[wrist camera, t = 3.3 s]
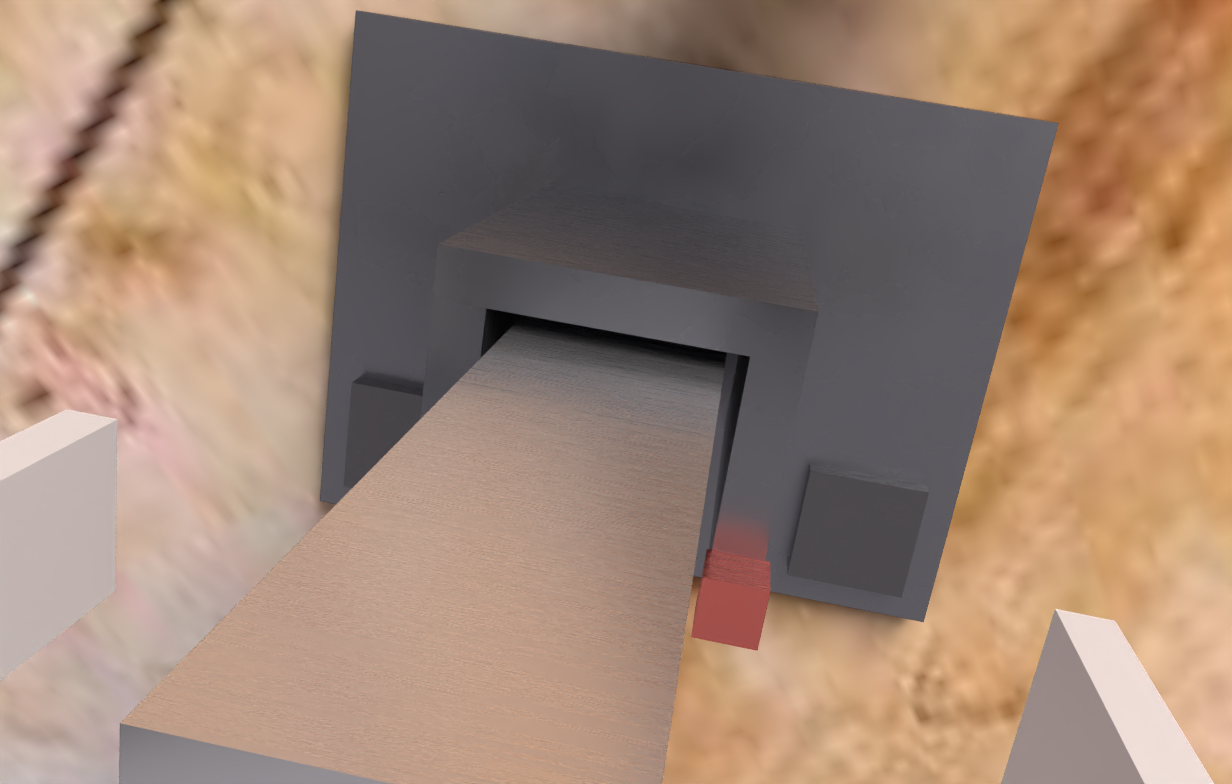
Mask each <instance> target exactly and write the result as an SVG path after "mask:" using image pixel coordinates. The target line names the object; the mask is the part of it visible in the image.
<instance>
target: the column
mask: <svg viewBox="0 0 1232 784" xmlns="http://www.w3.org/2000/svg"><path fill="white" fill-rule="evenodd" d="M726 356H727V352H722V351H717V350H711V349H706V348H700V347H695V346H689V345H684V344H679V343H673V342H668V341H662V340H657V339H651V338H646V337H640V336H635V335H629V334H624V333H618V332H613V331H607V330H602V329H596V328H591V327H586V326H580V325H575V324H569V323H564V322H558V321H553V320H547V319H542V318H536V317H531V316H525V315H523V316H522V317H521V318H520V319H519V320H518V321H517V322H516V323H515V324H514V325H513V326H512V327H511V328H510V329H509V330H508V331H507V332H506V333H505V334H504V335H503V336H502V337H501V338H500V339H499V340H498V341H497V342H496V343H495V344H494V345H493V346H492V347H491V348H490V349H489V350H488V351H487V352H486V353H485V354H484V355H483V356H482V357H481V358H480V359H479V360H478V361H477V362H476V363H475V364H474V366H473V367H472V368H471V369H470V370H469V371H468V372H467V373H466V374H465V375H464V376H463V377H462V378H461V379H460V380H459V381H458V382H457V383H456V384H455V385H454V386H453V387H452V388H451V389H450V390H449V391H448V392H447V393H446V394H445V395H444V396H443V397H442V398H441V399H440V400H439V401H438V402H437V403H436V404H435V405H434V406H433V407H432V408H431V409H430V410H429V411H428V412H427V413H426V414H425V415H424V416H423V417H422V418H421V419H420V420H419V421H418V422H417V423H416V424H415V425H414V426H413V427H412V428H411V429H410V430H409V431H408V432H407V433H406V434H405V435H404V436H403V437H402V438H401V439H400V440H399V441H398V442H397V443H396V444H395V445H394V446H393V447H392V448H391V449H390V450H389V452H388V453H387V454H386V455H385V456H384V457H383V458H382V459H381V460H380V461H379V462H378V463H377V464H376V465H375V466H374V467H373V468H372V469H371V470H370V471H369V472H368V473H367V474H366V475H365V476H364V477H363V478H362V479H361V480H360V481H359V482H358V483H357V484H356V485H355V486H354V487H353V488H352V489H351V490H350V491H349V492H348V493H347V494H346V495H345V496H344V497H343V498H342V499H341V500H340V501H339V502H338V503H337V504H336V505H335V506H334V507H333V508H332V509H331V510H330V511H329V512H328V513H327V514H326V515H325V516H324V517H323V518H322V519H321V520H320V521H319V522H318V523H317V524H316V525H315V526H314V527H313V528H312V529H311V530H310V531H309V532H308V533H307V534H306V535H305V536H304V537H303V539H302V540H301V541H300V542H299V543H298V544H297V545H296V546H295V547H294V548H293V549H292V550H291V551H290V552H289V553H288V554H287V555H286V556H285V557H284V558H283V559H282V560H281V561H280V562H279V563H278V564H277V565H276V566H275V567H274V568H273V569H272V570H271V571H270V572H269V573H268V574H267V575H266V576H265V577H264V578H263V579H262V580H261V581H260V582H259V583H258V584H257V585H256V586H255V587H254V588H253V589H252V590H251V591H250V592H249V593H248V594H247V595H246V596H245V597H244V598H243V599H242V600H241V601H240V602H239V603H238V604H237V605H236V606H235V607H234V608H233V609H232V610H231V611H230V612H229V613H228V614H227V615H226V616H225V617H224V618H223V619H222V620H221V621H220V622H219V623H218V624H217V626H216V627H215V628H214V629H213V630H212V631H211V632H210V633H209V634H208V635H207V636H206V637H205V638H204V639H203V640H202V641H201V642H200V643H199V644H198V645H197V646H196V647H195V648H194V649H193V650H192V651H191V652H190V653H189V654H188V655H187V656H186V657H185V658H184V659H183V660H182V661H181V662H180V663H179V664H178V665H177V666H176V667H175V668H174V669H173V670H172V671H171V672H170V673H169V674H168V675H167V676H166V677H165V678H164V679H163V680H162V681H161V682H160V683H159V684H158V685H157V686H156V687H155V688H154V689H153V690H152V691H151V692H150V693H149V694H148V695H147V696H146V697H145V698H144V699H143V700H142V701H141V702H140V703H139V704H138V705H137V706H136V707H135V708H134V709H133V710H132V711H131V713H130V714H129V715H128V716H127V717H126V718H125V719H124V720H123V721H122V722H121V723H120V761H119V784H662V780H663V774H664V767H665V760H666V754H667V747H668V740H669V734H670V727H671V721H672V714H673V707H674V701H675V694H676V687H677V681H678V674H679V667H680V661H681V654H682V648H683V641H684V634H685V628H686V621H687V614H688V608H689V601H690V595H691V588H692V581H693V575H694V568H695V561H696V555H697V548H698V541H699V535H700V528H701V522H702V515H703V508H704V502H705V495H706V488H707V482H708V475H709V469H710V462H711V455H712V449H713V442H714V435H715V429H716V422H717V415H718V409H719V402H720V396H721V389H722V382H723V376H724V369H725V362H726Z"/></svg>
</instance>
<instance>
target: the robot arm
mask: <svg viewBox="0 0 1232 784" xmlns="http://www.w3.org/2000/svg"><path fill="white" fill-rule="evenodd" d="M116 499H117V419H113V418H108V417H103V416H98V415H94V414H89V413H84V412H79V411H74V410H69V409H67V410H65V411H63V412H60V413H58V414H56V415H54V416H52V417H50V418H48V419H46V420H44V421H41V422H39V423H37V424H35V425H33V426H31V427H29V428H27V429H25V430H22V431H20V432H18V433H16V434H14V435H12V436H10V437H8V438H6V439H4V440H1V441H0V681H1V680H2V679H4V678H5V677H6V676H7V675H9V674H10V673H11V672H13V671H14V670H15V669H16V668H18V667H19V666H20V665H21V664H23V663H24V662H25V661H27V660H28V659H29V658H30V657H32V656H33V655H34V654H36V653H37V652H38V651H39V650H41V649H42V648H43V647H45V646H46V645H47V644H48V643H50V642H51V641H52V640H53V639H55V638H56V637H57V636H59V635H60V634H61V633H62V632H64V631H65V630H66V629H68V628H69V627H70V626H71V625H73V624H74V623H75V622H76V621H78V620H79V619H80V618H82V617H83V616H84V615H85V614H87V613H88V612H89V611H91V610H92V609H93V608H94V607H96V606H97V605H98V604H99V603H101V602H102V601H103V600H105V599H106V598H107V597H108V596H110V595H111V594H112V593H114V592H115V583H116ZM1001 784H1214V783H1213V781H1212V780H1211V778H1210V776H1209V775H1208V773H1207V771H1206V770H1205V768H1204V766H1203V765H1202V763H1201V762H1200V760H1199V758H1198V757H1197V755H1196V753H1195V752H1194V750H1193V748H1192V747H1191V745H1190V743H1189V742H1188V740H1187V738H1186V737H1185V735H1184V734H1183V732H1182V730H1181V729H1180V727H1179V725H1178V724H1177V722H1176V720H1175V719H1174V717H1173V715H1172V714H1171V712H1170V710H1169V709H1168V707H1167V706H1166V704H1165V702H1164V701H1163V699H1162V697H1161V696H1160V694H1159V692H1158V691H1157V689H1156V687H1155V686H1154V684H1153V683H1152V681H1151V679H1150V678H1149V676H1148V674H1147V673H1146V671H1145V669H1144V668H1143V666H1142V664H1141V663H1140V661H1139V659H1138V658H1137V656H1136V655H1135V653H1134V651H1133V650H1132V648H1131V646H1130V645H1129V643H1128V641H1127V640H1126V638H1125V636H1124V635H1123V633H1122V631H1121V630H1120V628H1119V627H1118V625H1117V623H1116V622H1115V621H1113V620H1108V619H1103V618H1098V617H1093V616H1088V615H1083V614H1078V613H1073V612H1068V611H1064V610H1059V609H1055V611H1054V615H1053V618H1052V621H1051V624H1050V627H1049V631H1048V634H1047V637H1046V640H1045V644H1044V647H1043V650H1042V653H1041V656H1040V660H1039V663H1038V666H1037V669H1036V673H1035V676H1034V679H1033V682H1032V685H1031V689H1030V692H1029V695H1028V698H1027V702H1026V705H1025V708H1024V711H1023V714H1022V718H1021V721H1020V724H1019V727H1018V731H1017V734H1016V737H1015V740H1014V743H1013V747H1012V750H1011V753H1010V756H1009V760H1008V763H1007V766H1006V769H1005V772H1004V776H1003V779H1002V782H1001Z"/></svg>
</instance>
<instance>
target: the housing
mask: <svg viewBox="0 0 1232 784" xmlns="http://www.w3.org/2000/svg"><path fill="white" fill-rule="evenodd" d="M1058 124H1059V123H1055V122H1050V121H1044V120H1037V119H1031V118H1025V117H1019V116H1013V115H1006V114H1000V113H994V112H988V111H981V110H975V109H969V108H963V107H957V106H950V105H944V104H938V103H932V102H925V101H919V100H913V99H907V98H900V97H894V96H888V95H882V94H876V93H869V92H863V91H857V90H851V89H844V88H838V87H832V86H826V85H820V84H813V83H807V82H801V81H795V80H788V79H782V78H776V77H770V76H763V75H757V74H751V73H745V72H739V71H732V70H726V69H720V68H714V67H707V66H701V65H695V64H689V63H683V62H676V61H670V60H664V59H658V58H651V57H645V56H639V55H633V54H626V53H620V52H614V51H608V50H602V49H595V48H589V47H583V46H577V45H570V44H564V43H558V42H552V41H546V40H539V39H533V38H527V37H521V36H514V35H508V34H502V33H496V32H489V31H483V30H477V29H471V28H465V27H458V26H452V25H446V24H440V23H433V22H427V21H421V20H415V19H409V18H402V17H396V16H390V15H384V14H377V13H371V12H364V11H356V15H355V29H354V42H353V56H352V70H351V83H350V97H349V111H348V124H347V138H346V152H345V165H344V179H343V193H342V206H341V220H340V234H339V247H338V261H337V275H336V288H335V302H334V316H333V329H332V343H331V357H330V370H329V384H328V398H327V411H326V425H325V439H324V452H323V466H322V480H321V493H320V501H323V502H328V503H333V504H337V503H338V502H339V501H340V500H341V499H342V498H343V497H344V496H345V495H346V494H347V493H348V492H349V491H350V490H351V489H352V488H353V487H354V486H355V485H356V484H357V483H358V482H359V481H360V480H361V479H362V478H363V477H364V476H365V475H366V474H367V473H368V472H369V471H370V470H371V469H372V468H373V467H374V466H375V465H376V464H377V463H378V462H379V461H380V460H381V459H382V458H383V457H384V456H385V455H386V454H387V453H388V452H389V450H390V449H391V448H392V447H393V446H394V445H395V444H396V443H397V442H398V441H399V440H400V439H401V438H402V437H403V436H404V435H405V434H406V433H407V432H408V431H409V430H410V429H411V428H412V427H413V426H414V425H415V424H416V423H417V422H418V421H419V420H420V419H421V418H422V417H423V416H424V415H425V414H426V413H427V412H428V411H429V410H430V409H431V408H432V407H433V406H434V405H435V404H436V403H437V402H438V401H439V400H440V399H441V398H442V397H443V396H444V395H445V394H446V393H447V392H448V391H449V390H450V389H451V388H452V387H453V386H454V385H455V384H456V383H457V382H458V381H459V380H460V379H461V378H462V377H463V376H464V375H465V374H466V373H467V372H468V371H469V370H470V369H471V368H472V367H473V366H474V364H475V363H476V362H477V361H478V360H479V359H480V358H481V357H482V356H483V355H484V354H485V353H486V352H487V351H488V350H489V349H490V348H491V347H492V346H493V345H494V344H495V343H496V342H497V341H498V340H499V339H500V338H501V337H502V336H503V335H504V334H505V333H506V332H507V331H508V330H509V329H510V328H511V327H512V326H513V325H514V324H515V323H516V322H517V321H518V320H519V319H520V318H521V317H522V316H523V315H525V316H531V317H536V318H542V319H547V320H553V321H558V322H564V323H569V324H575V325H580V326H586V327H591V328H596V329H602V330H607V331H613V332H618V333H624V334H629V335H635V336H640V337H646V338H651V339H657V340H662V341H668V342H673V343H679V344H684V345H689V346H695V347H700V348H706V349H711V350H717V351H722V352H727V356H726V362H725V369H724V376H723V382H722V389H721V396H720V402H719V409H718V415H717V422H716V429H715V435H714V442H713V449H712V455H711V462H710V469H709V475H708V482H707V488H706V495H705V502H704V508H703V515H702V522H701V528H700V535H699V541H698V548H697V555H696V561H695V568H694V575H693V576H696V577H701V581H700V586H699V591H698V596H697V601H696V607H695V614H694V621H693V628H692V636H691V637H694V638H699V639H704V640H708V641H713V642H718V643H723V644H728V645H733V646H738V647H742V648H747V649H752V650H758V646H759V641H760V637H761V632H762V627H763V623H764V618H765V614H766V609H767V605H768V600H769V595H770V591H771V592H776V593H781V594H786V595H791V596H796V597H801V598H806V599H811V600H816V601H821V602H826V603H831V604H836V605H841V606H846V607H851V608H856V609H861V610H866V611H871V612H876V613H881V614H886V615H891V616H895V617H900V618H905V619H910V620H915V621H920V622H924V619H925V615H926V611H927V607H928V604H929V600H930V596H931V593H932V589H933V585H934V582H935V578H936V574H937V571H938V567H939V563H940V559H941V556H942V552H943V548H944V545H945V541H946V537H947V534H948V530H949V526H950V523H951V519H952V515H953V511H954V508H955V504H956V500H957V497H958V493H959V489H960V486H961V482H962V478H963V475H964V471H965V467H966V463H967V460H968V456H969V452H970V449H971V445H972V441H973V438H974V434H975V430H976V427H977V423H978V419H979V415H980V412H981V408H982V404H983V401H984V397H985V393H986V390H987V386H988V382H989V379H990V375H991V371H992V367H993V364H994V360H995V356H996V353H997V349H998V345H999V342H1000V338H1001V334H1002V330H1003V327H1004V323H1005V319H1006V316H1007V312H1008V308H1009V305H1010V301H1011V297H1012V294H1013V290H1014V286H1015V282H1016V279H1017V275H1018V271H1019V268H1020V264H1021V260H1022V257H1023V253H1024V249H1025V246H1026V242H1027V238H1028V234H1029V231H1030V227H1031V223H1032V220H1033V216H1034V212H1035V209H1036V205H1037V201H1038V198H1039V194H1040V190H1041V186H1042V183H1043V179H1044V175H1045V172H1046V168H1047V164H1048V161H1049V157H1050V153H1051V150H1052V146H1053V142H1054V138H1055V135H1056V131H1057V127H1058Z"/></svg>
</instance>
